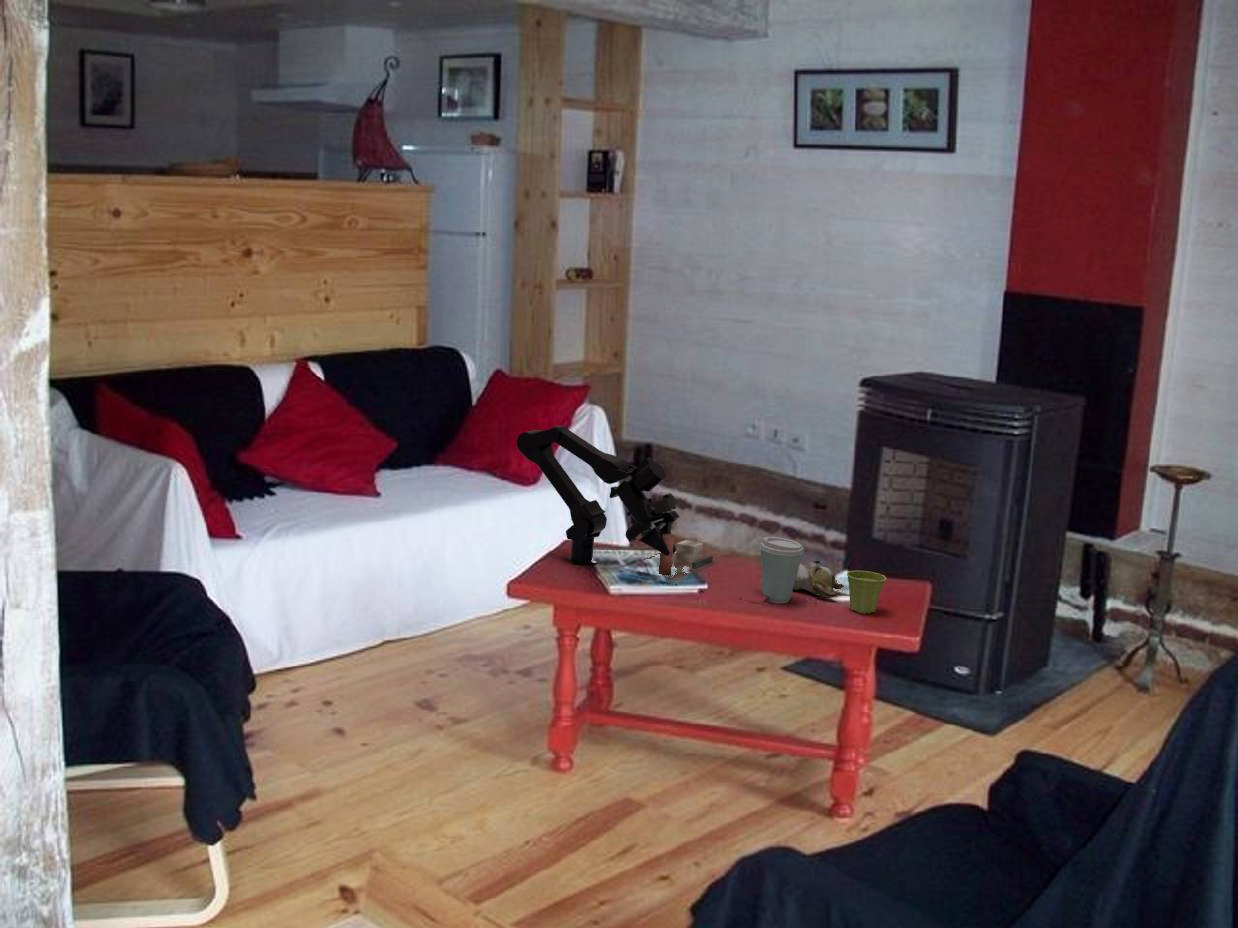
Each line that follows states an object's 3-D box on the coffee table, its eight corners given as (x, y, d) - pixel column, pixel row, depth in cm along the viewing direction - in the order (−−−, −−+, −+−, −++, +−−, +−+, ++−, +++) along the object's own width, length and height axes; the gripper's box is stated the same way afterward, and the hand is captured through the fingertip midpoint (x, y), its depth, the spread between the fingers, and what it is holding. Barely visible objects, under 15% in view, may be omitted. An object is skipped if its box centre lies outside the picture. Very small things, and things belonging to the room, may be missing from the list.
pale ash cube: (675, 562, 369) (677, 543, 368) (684, 558, 373) (685, 539, 372) (692, 565, 366) (694, 546, 365) (701, 562, 371) (703, 543, 370)
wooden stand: (620, 572, 359) (623, 529, 357) (664, 555, 380) (668, 513, 378) (676, 585, 352) (680, 540, 349) (718, 566, 372) (722, 524, 370)
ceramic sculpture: (800, 549, 362) (855, 564, 355) (795, 582, 364) (850, 597, 357) (783, 557, 353) (840, 573, 346) (778, 591, 355) (834, 607, 348)
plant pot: (840, 603, 348) (844, 568, 347) (879, 606, 348) (883, 572, 347) (845, 614, 339) (849, 578, 338) (884, 617, 339) (889, 582, 337)
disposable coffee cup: (785, 593, 353) (791, 534, 350) (806, 606, 343) (813, 545, 341) (747, 594, 349) (753, 534, 347) (767, 607, 340) (773, 546, 337)
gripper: (640, 489, 346) (676, 541, 343) (675, 478, 362) (710, 529, 359) (609, 515, 351) (645, 567, 348) (645, 503, 367) (680, 553, 364)
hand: (671, 553), depth 355 cm, fingers closed on wooden stand, 3 cm apart
